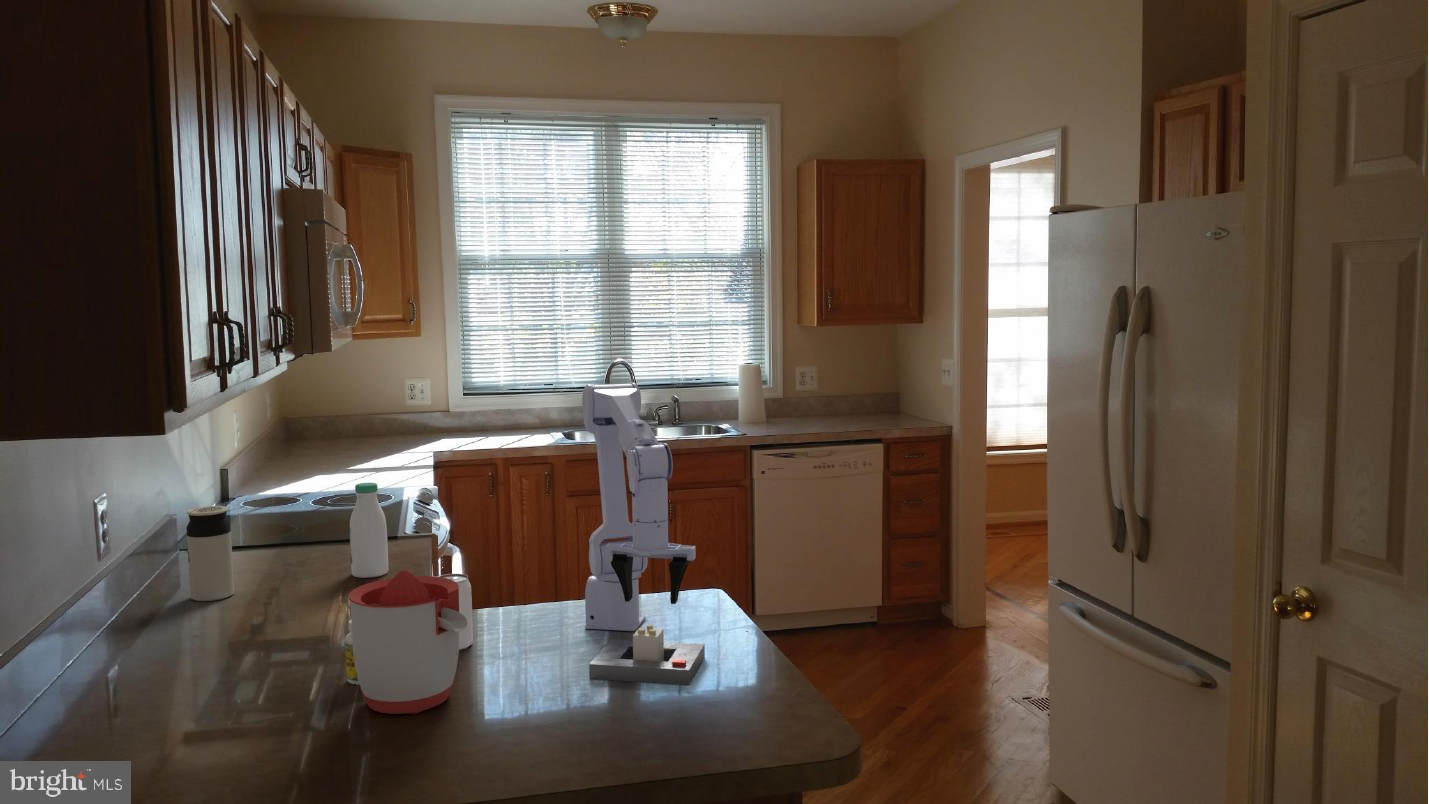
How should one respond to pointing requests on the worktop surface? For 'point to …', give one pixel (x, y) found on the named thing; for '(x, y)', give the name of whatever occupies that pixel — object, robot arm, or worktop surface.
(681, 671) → the socket plate
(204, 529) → the travel mug
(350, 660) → the supplement bottle
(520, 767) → the worktop surface
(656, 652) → the plug
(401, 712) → the citrus juicer
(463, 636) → the can
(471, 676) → the worktop surface
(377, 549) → the milk bottle
